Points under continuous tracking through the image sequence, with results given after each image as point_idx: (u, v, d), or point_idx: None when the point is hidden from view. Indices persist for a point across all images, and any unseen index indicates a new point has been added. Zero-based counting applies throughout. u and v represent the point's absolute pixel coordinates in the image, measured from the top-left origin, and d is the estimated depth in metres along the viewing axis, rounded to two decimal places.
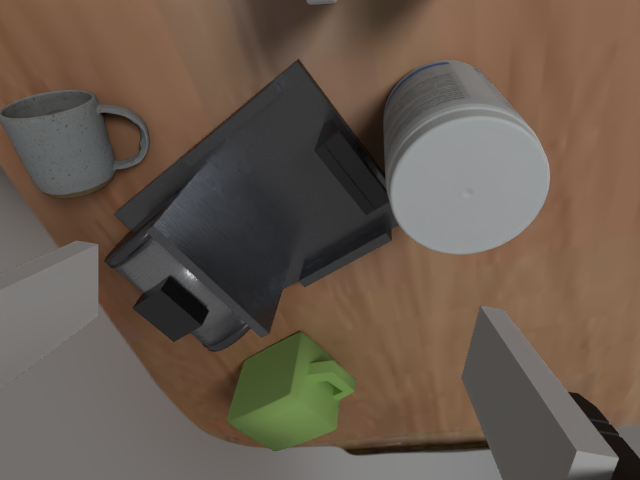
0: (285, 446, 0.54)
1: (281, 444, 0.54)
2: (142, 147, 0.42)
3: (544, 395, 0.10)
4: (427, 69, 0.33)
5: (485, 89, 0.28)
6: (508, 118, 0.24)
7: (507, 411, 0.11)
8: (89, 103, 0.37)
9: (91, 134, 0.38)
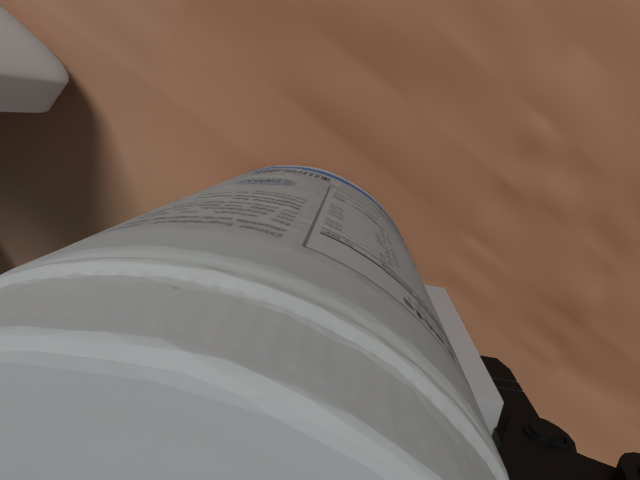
0: None
1: None
2: None
3: None
4: None
5: None
6: None
7: None
8: None
9: None
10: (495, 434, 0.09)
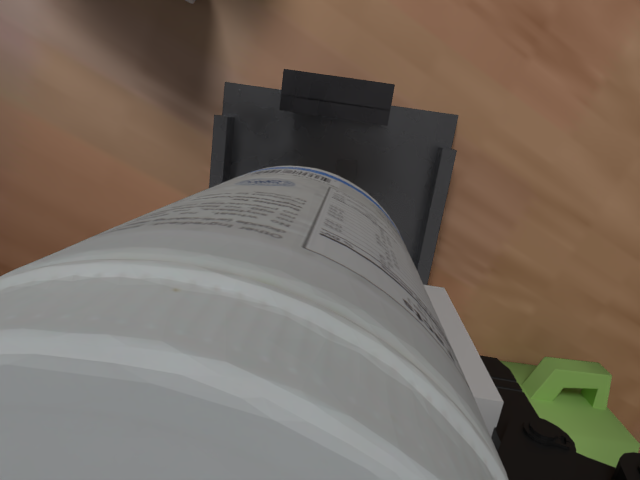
0: None
1: None
2: None
3: (455, 355, 0.11)
4: None
5: None
6: None
7: None
8: None
9: None
10: (495, 434, 0.09)
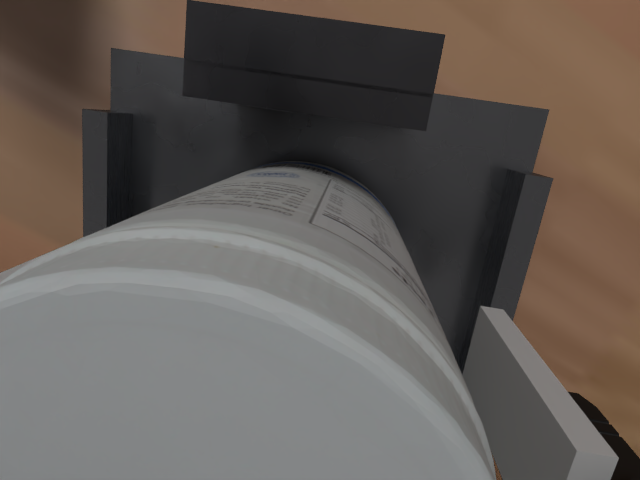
0: None
1: None
2: None
3: (544, 395, 0.10)
4: None
5: None
6: (13, 277, 0.06)
7: (507, 411, 0.11)
8: None
9: None
10: None
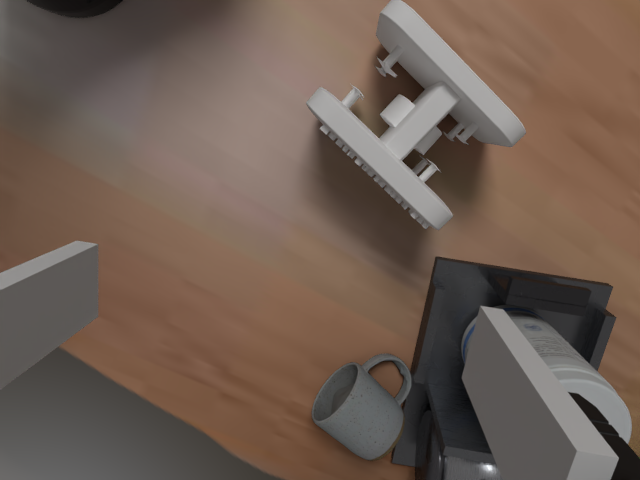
0: None
1: None
2: (405, 373, 0.49)
3: (544, 395, 0.10)
4: (471, 337, 0.44)
5: None
6: None
7: (507, 411, 0.11)
8: (360, 369, 0.47)
9: (375, 389, 0.46)
10: None
